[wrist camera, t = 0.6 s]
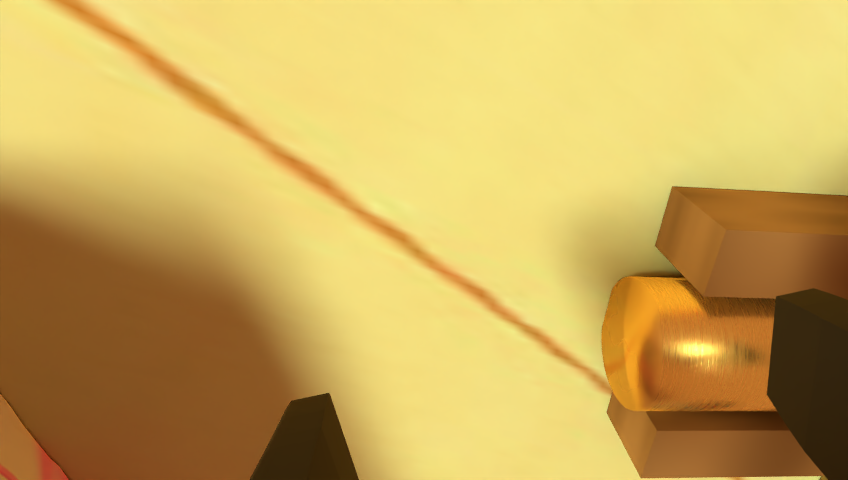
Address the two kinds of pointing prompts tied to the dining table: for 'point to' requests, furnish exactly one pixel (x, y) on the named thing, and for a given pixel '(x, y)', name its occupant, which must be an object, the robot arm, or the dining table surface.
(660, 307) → the axle
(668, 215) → the parallel wooden rails
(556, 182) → the dining table surface
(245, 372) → the dining table surface
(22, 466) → the gum box
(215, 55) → the dining table surface
